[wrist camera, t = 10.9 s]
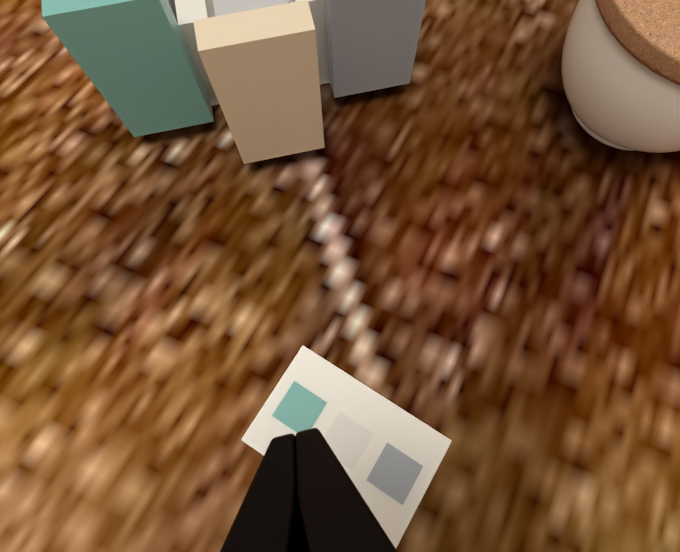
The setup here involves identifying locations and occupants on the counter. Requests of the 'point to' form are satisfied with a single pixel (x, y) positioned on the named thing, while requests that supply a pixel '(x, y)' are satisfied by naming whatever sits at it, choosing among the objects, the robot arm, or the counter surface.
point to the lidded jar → (625, 72)
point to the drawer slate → (371, 43)
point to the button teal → (134, 60)
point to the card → (355, 436)
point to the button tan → (264, 75)
